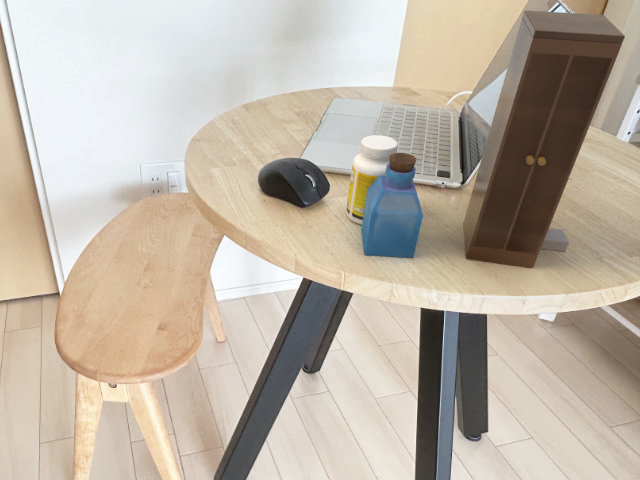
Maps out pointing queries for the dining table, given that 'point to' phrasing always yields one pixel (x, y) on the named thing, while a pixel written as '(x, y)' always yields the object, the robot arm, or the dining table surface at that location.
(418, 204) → the perfume bottle
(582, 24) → the cupboard
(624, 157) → the dining table surface
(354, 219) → the pill bottle
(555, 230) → the small grey rectangular block
